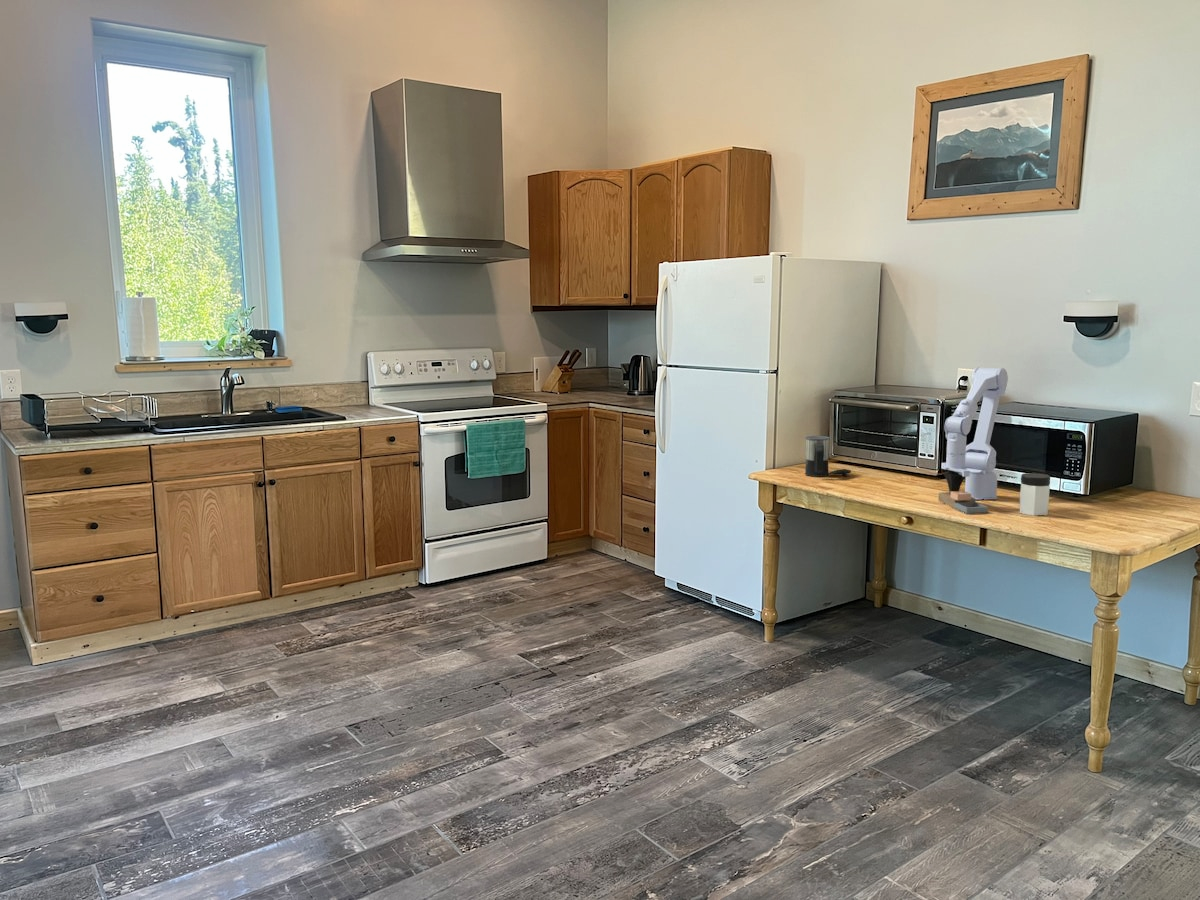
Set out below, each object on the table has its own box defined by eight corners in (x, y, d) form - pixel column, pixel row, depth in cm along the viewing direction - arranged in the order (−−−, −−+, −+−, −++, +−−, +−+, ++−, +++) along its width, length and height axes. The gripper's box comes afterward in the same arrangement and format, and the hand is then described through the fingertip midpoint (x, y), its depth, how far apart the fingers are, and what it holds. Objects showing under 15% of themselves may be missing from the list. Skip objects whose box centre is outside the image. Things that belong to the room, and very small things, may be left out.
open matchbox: (958, 500, 290) (958, 491, 289) (974, 507, 280) (975, 498, 279) (938, 501, 289) (938, 492, 289) (954, 508, 279) (954, 499, 278)
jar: (1018, 508, 277) (1020, 471, 275) (1047, 510, 274) (1049, 473, 272) (1019, 515, 269) (1021, 477, 267) (1048, 517, 266) (1051, 479, 264)
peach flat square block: (963, 496, 282) (963, 490, 282) (970, 499, 278) (971, 493, 277) (950, 497, 282) (950, 491, 281) (957, 500, 277) (957, 494, 277)
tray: (974, 507, 280) (975, 501, 279) (987, 513, 272) (988, 507, 272) (954, 508, 279) (954, 502, 279) (966, 514, 272) (966, 508, 271)
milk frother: (800, 473, 341) (801, 436, 338) (838, 471, 343) (839, 434, 341) (816, 480, 327) (816, 441, 324) (854, 478, 330) (856, 439, 327)
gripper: (933, 450, 287) (931, 490, 289) (955, 457, 273) (953, 499, 275) (953, 449, 288) (951, 489, 290) (976, 456, 274) (974, 498, 276)
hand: (953, 494), depth 283 cm, fingers closed
